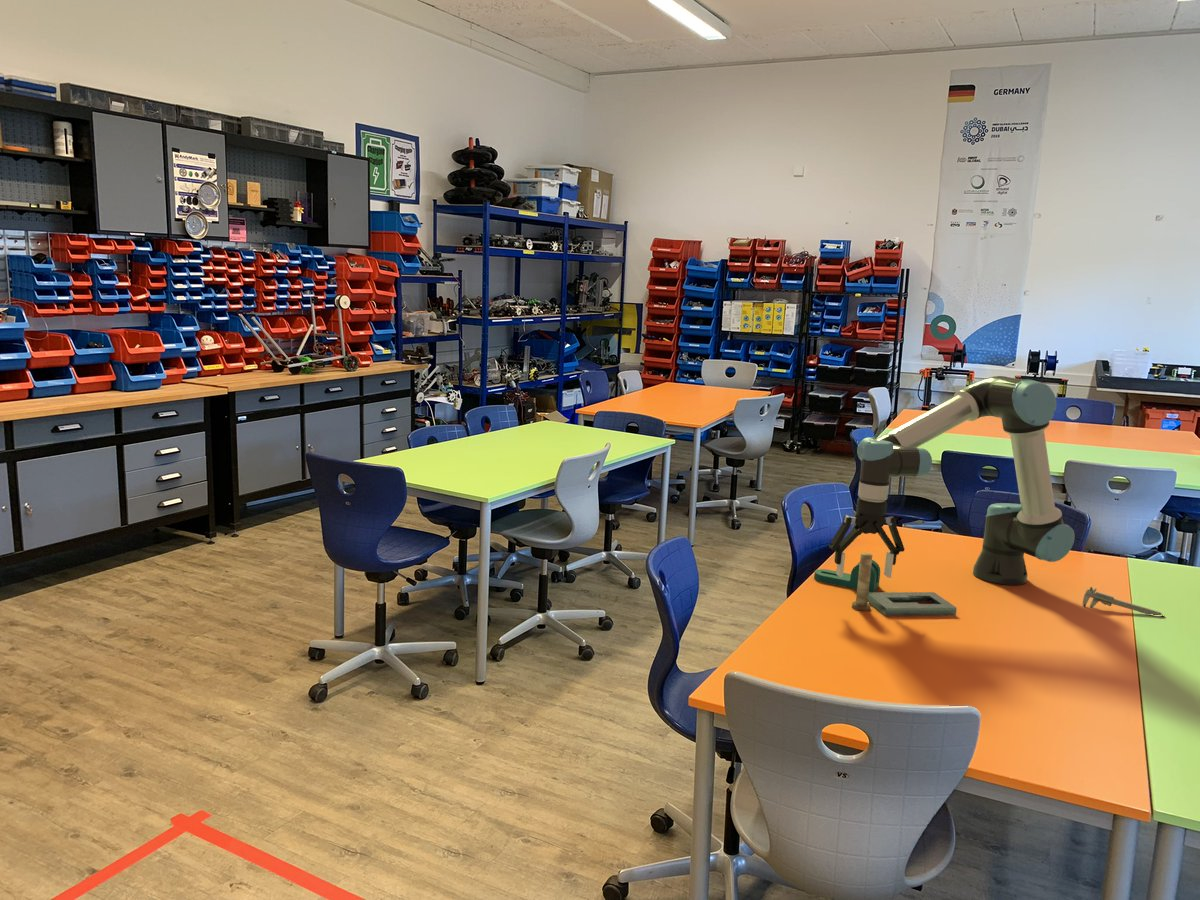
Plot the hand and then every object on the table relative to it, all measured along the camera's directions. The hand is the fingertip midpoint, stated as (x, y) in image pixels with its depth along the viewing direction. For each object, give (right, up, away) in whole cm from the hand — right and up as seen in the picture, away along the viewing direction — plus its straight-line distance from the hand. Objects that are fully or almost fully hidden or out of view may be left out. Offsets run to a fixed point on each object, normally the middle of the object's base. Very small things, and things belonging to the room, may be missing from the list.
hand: (863, 576), depth 235 cm
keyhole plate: (+14, -9, +4) cm, 17 cm away
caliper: (+75, -12, +8) cm, 76 cm away
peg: (0, -9, +2) cm, 9 cm away
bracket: (+1, -6, +22) cm, 23 cm away
